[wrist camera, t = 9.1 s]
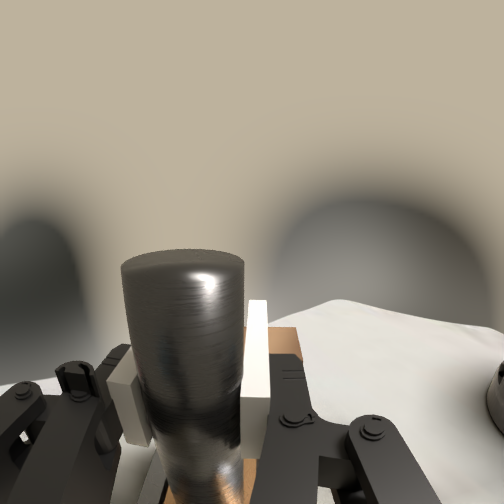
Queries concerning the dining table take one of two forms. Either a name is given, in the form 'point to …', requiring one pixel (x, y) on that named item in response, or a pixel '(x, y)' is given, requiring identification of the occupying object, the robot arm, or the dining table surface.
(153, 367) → the mallet
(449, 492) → the dining table surface
